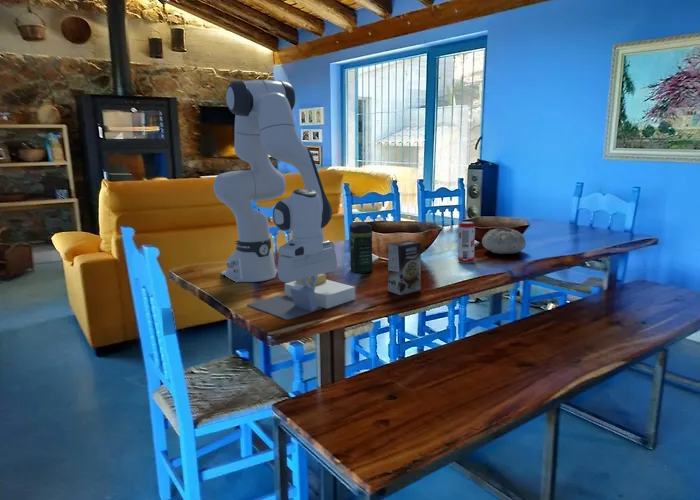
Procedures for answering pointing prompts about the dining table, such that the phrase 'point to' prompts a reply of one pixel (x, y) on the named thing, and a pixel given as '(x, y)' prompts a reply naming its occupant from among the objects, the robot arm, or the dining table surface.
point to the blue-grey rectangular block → (304, 297)
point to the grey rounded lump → (504, 241)
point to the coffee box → (404, 267)
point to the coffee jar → (361, 247)
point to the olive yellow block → (320, 279)
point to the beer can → (466, 242)
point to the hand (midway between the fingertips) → (309, 290)
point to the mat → (280, 307)
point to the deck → (327, 293)
